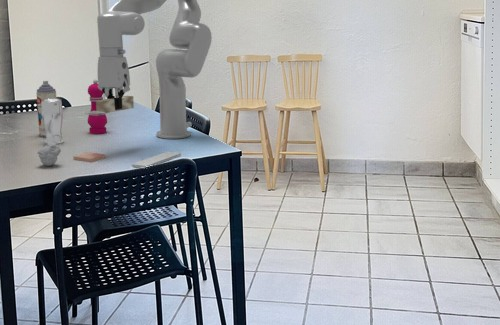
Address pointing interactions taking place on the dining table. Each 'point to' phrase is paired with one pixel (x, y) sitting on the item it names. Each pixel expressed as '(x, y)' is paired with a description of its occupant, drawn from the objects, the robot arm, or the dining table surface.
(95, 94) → the pepper mill
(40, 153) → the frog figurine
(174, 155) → the board
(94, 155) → the tile
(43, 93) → the aerosol can
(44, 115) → the beer glass
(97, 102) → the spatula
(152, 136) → the dining table surface
